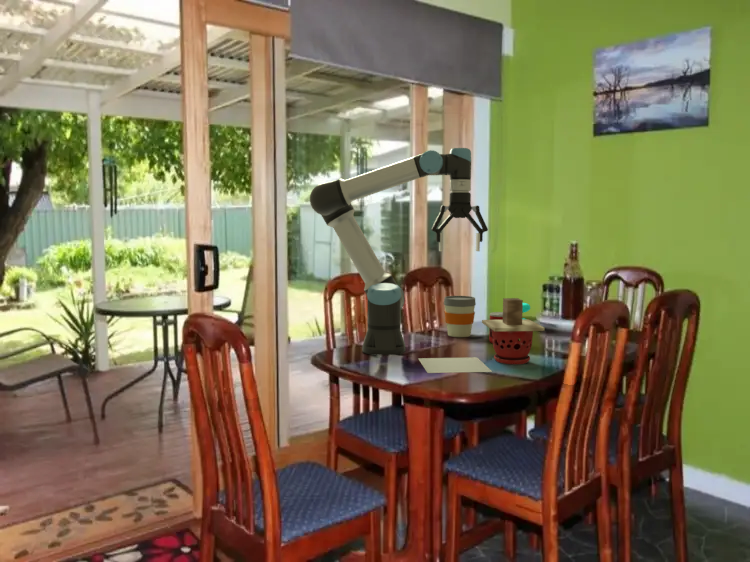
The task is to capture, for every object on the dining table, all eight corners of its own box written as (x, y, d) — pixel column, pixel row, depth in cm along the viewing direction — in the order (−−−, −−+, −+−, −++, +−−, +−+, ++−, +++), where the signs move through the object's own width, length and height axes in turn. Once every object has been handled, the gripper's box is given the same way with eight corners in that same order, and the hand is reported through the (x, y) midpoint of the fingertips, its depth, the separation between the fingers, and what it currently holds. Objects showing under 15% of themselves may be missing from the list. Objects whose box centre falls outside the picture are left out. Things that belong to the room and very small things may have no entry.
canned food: (508, 340, 259) (509, 312, 258) (510, 344, 251) (511, 315, 250) (488, 340, 260) (489, 311, 259) (489, 344, 252) (490, 315, 251)
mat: (427, 374, 206) (427, 372, 206) (417, 359, 226) (417, 358, 226) (492, 373, 208) (492, 371, 207) (477, 358, 227) (477, 357, 227)
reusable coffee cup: (437, 335, 268) (438, 298, 267) (451, 331, 279) (452, 294, 277) (467, 339, 262) (467, 300, 260) (480, 334, 272) (480, 297, 271)
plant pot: (486, 358, 228) (487, 323, 227) (524, 357, 229) (525, 322, 228) (497, 367, 215) (498, 330, 214) (537, 366, 216) (538, 329, 215)
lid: (494, 331, 212) (495, 302, 211) (481, 322, 228) (482, 296, 227) (544, 330, 214) (545, 302, 213) (528, 322, 230) (529, 295, 229)
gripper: (427, 191, 238) (426, 251, 240) (497, 191, 240) (495, 251, 243) (424, 192, 246) (423, 250, 248) (491, 192, 248) (490, 250, 250)
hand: (459, 251), depth 245 cm, fingers open, 13 cm apart
